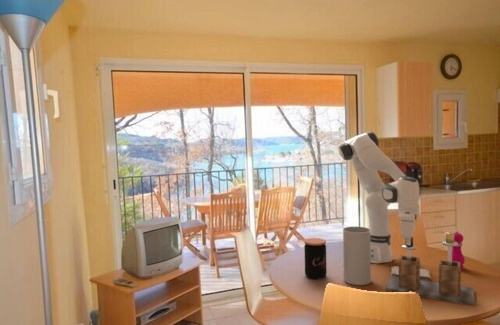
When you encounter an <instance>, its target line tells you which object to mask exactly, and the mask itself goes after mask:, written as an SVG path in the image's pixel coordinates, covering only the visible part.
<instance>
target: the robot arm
mask: <svg viewBox="0 0 500 325" xmlns="http://www.w3.org/2000/svg"><path fill="white" fill-rule="evenodd" d="M379 142H380V141H379V138H378V136H377V134H376V133H375V132H373V131H366V132H364V133H362V134H357V135H355V136H353V137H352V138H350V139H348V140H346V141H342V142H341V143H339V145H338V146H337V147H338V148H337V149H338V153H339V156H340V157H341V158H342V159H343V160H345V161H350V160H351V163H352V167H353V169H354V170H353V171H354V172H355V174H356V176H357V180H359V184H360V185H361V187H362V188H364V190H365V192H366V193H367V194H368V195H367V196H366V198H365V207H366V211H367V216H368V229H370V242H371V263H372V264H382V263H391V262H392V261H394V257H393V255H392V254H393V253H392V249H391V248H392V247H391V244H392V237H391V233H390V232H391V231H390V230H391V226H390V225H391V223H390V222H391V221H390V218H389V211H388V207H389V206H390V205H391V204H397V216H398V220H399V221H400V230H401V237H402V239H405V238H406V245H411V237H413V235H414V232H415V230H416V222H417V220H418V219H419V218H420V216H421V214H420V213H421V209H420V207H421V206H420V202H419V201H420V200H419V199H420V197H421V194H422V193H421V192H422V190H421V188H420V183H419V181H418V179H417V178H415V177H412V176H408V175H407V174H406V172H405V171H404V170H403V169H402V168H401V167H400V166H399V165H398V163H397V162H395V161H394V160H393V159H392V158H390V157H389V156H387V155H386V154H385V153H384V152H383V151H382V150H381V149H380V148H379ZM379 172H382V173H385V174H387V175H389V177H391V178H392V179H393V180H394V181H392V182H388V183H386V184H385V182H384V181H383V180H382V178H381V177H380V175H379Z"/></svg>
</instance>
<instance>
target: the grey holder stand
mask: <svg viewBox="0 0 500 325" xmlns="http://www.w3.org/2000/svg"><path fill="white" fill-rule="evenodd" d="M438 262H439V263H438V282H436V281H435V282H434V281H422V280H420V269H421V265H420V264H421V262H420V257H418V256H412V255H411V261H407V255H402V254H401V255H400V256H399V258H398V267H399V277H394V276H390V278H389V279H388V282H387V284H386V286H385V292H387V291H392V292H391V293H393V292H409V291H412V292H416V293H418V294H419V296H420V297H419V298H424V299H431V300H438V301H443V302H449V303H454V302H455V304H460V303H462V305H467V306H473V307H474V306H476V299H475V298H476V297H475V292H474V288H473V287H470V286H463V285H461V283H462V282H461V280H462V279H461V276H462V275H461V273H462V270H461V266H460V262H455V261H452V266H448V260H446V259H445V260H444V259H439V261H438Z"/></svg>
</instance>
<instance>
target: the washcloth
mask: <svg viewBox="0 0 500 325" xmlns="http://www.w3.org/2000/svg"><path fill="white" fill-rule="evenodd" d="M390 275H391V276H394V277H399V265H398V266H391V272H390ZM391 276H390V277H391ZM420 280H422V281H429V282H432V280H433V279H432V277H431V273H430V270H429V269H425V268H424V269H423V268H420Z"/></svg>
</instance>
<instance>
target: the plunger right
mask: <svg viewBox="0 0 500 325" xmlns="http://www.w3.org/2000/svg"><path fill="white" fill-rule="evenodd" d="M454 233H455V232H450V231H447V232H446V231H445V240H442V241H441V245H443V246H446V247H447V261H448V266H452V246H457V245H458V243H457V242H455V241H454Z"/></svg>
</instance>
